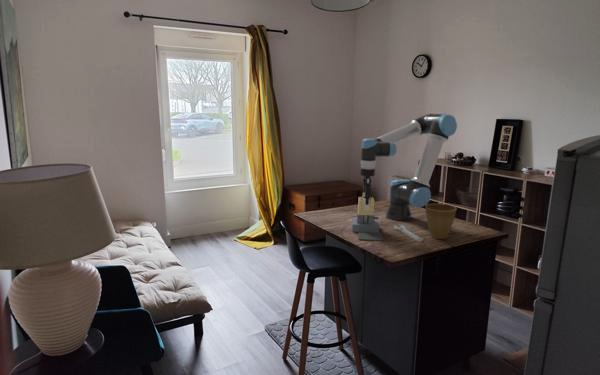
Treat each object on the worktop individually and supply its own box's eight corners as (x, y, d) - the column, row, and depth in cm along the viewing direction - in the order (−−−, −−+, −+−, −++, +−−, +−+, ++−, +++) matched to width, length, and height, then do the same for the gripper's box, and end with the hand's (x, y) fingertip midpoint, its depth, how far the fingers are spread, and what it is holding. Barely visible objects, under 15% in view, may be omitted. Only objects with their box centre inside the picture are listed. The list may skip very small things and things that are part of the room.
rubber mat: (381, 234, 203) (381, 233, 203) (383, 241, 192) (383, 240, 192) (358, 233, 204) (358, 232, 204) (359, 240, 193) (359, 239, 193)
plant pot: (437, 230, 210) (440, 202, 206) (460, 239, 197) (463, 208, 193) (417, 234, 203) (419, 205, 200) (438, 243, 190) (441, 212, 187)
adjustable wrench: (424, 242, 192) (424, 239, 192) (412, 243, 191) (412, 240, 191) (402, 227, 216) (402, 224, 216) (391, 227, 215) (391, 224, 215)
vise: (376, 226, 216) (378, 197, 212) (378, 232, 205) (380, 201, 202) (351, 225, 217) (352, 196, 214) (352, 231, 206) (353, 200, 203)
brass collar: (372, 211, 213) (373, 197, 211) (373, 215, 205) (374, 200, 203) (357, 211, 214) (358, 196, 212) (358, 214, 206) (359, 200, 204)
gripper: (359, 164, 217) (357, 201, 221) (362, 171, 192) (359, 212, 197) (372, 165, 216) (370, 201, 220) (377, 172, 192) (374, 213, 196)
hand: (365, 207), depth 208 cm, fingers open, 13 cm apart
